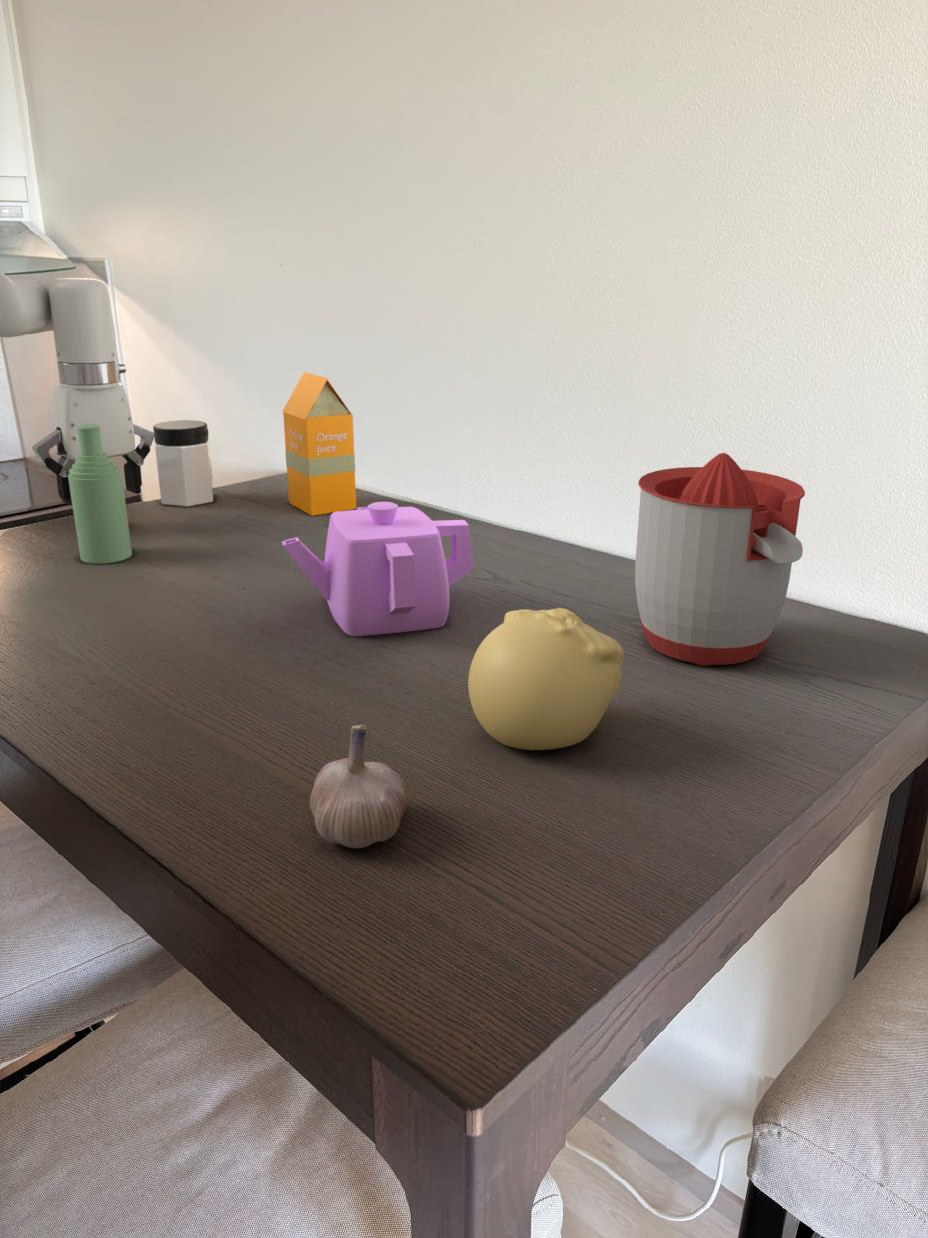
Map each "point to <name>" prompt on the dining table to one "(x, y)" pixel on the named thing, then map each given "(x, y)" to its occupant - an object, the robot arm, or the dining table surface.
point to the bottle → (98, 502)
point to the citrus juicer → (714, 559)
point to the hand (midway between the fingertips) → (102, 497)
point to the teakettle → (386, 568)
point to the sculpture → (543, 679)
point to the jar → (183, 462)
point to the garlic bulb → (357, 798)
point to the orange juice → (319, 448)
